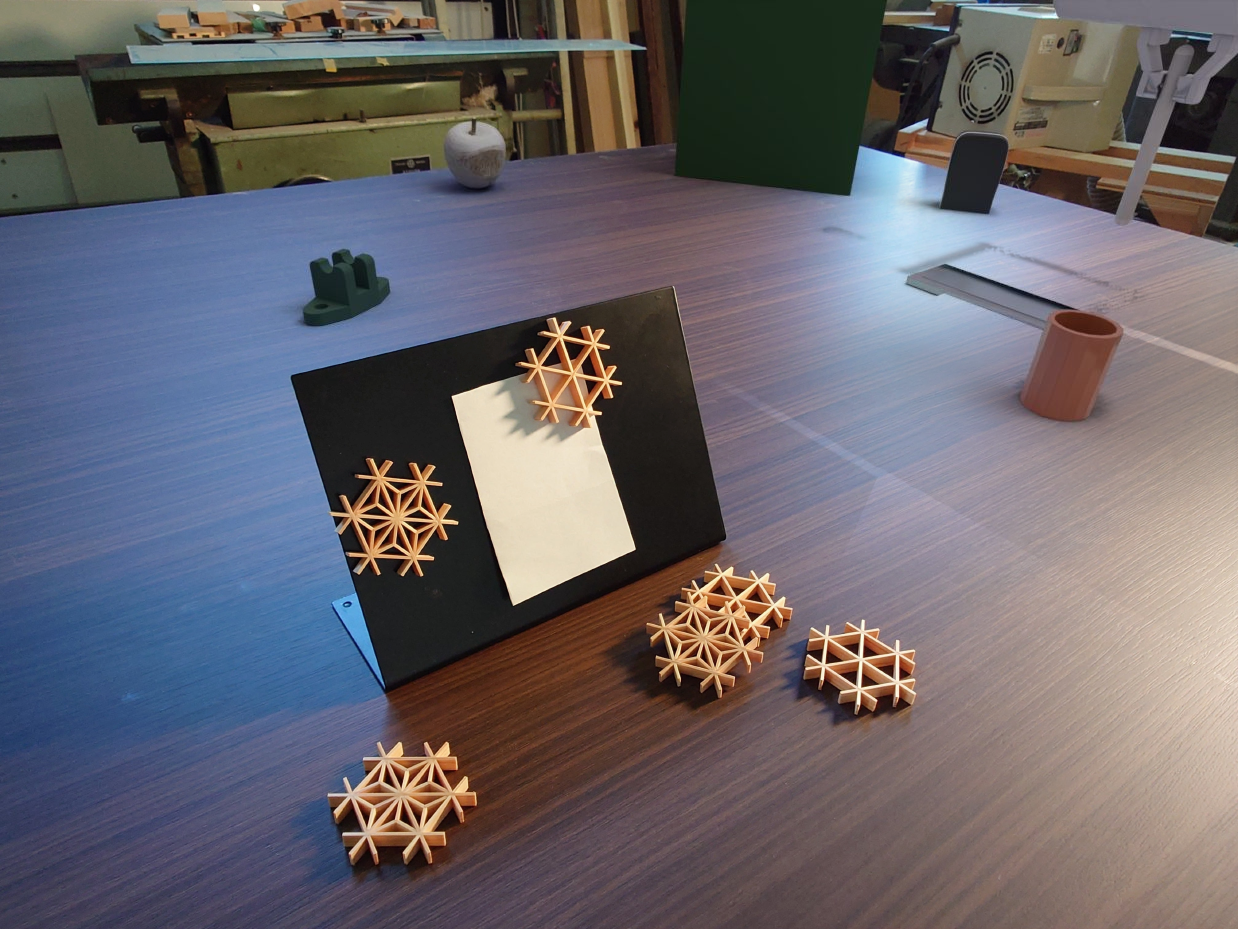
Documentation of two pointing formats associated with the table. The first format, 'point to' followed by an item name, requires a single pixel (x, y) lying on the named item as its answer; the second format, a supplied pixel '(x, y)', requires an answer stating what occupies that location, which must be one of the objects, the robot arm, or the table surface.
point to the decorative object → (475, 153)
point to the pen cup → (1070, 364)
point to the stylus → (1153, 135)
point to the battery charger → (974, 171)
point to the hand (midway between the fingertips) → (1166, 99)
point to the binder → (776, 91)
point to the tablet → (987, 294)
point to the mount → (343, 288)
